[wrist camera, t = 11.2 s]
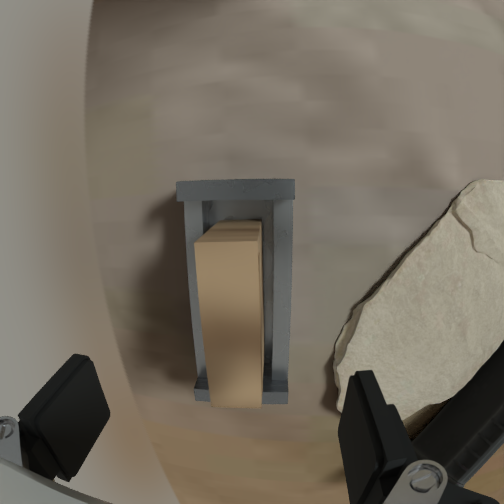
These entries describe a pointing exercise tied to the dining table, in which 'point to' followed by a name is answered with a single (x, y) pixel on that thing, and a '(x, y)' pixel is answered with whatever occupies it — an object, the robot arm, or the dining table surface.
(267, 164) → the dining table surface
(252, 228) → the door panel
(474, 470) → the magazine
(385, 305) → the stone tablet
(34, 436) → the robot arm
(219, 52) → the dining table surface
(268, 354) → the grey open holder
